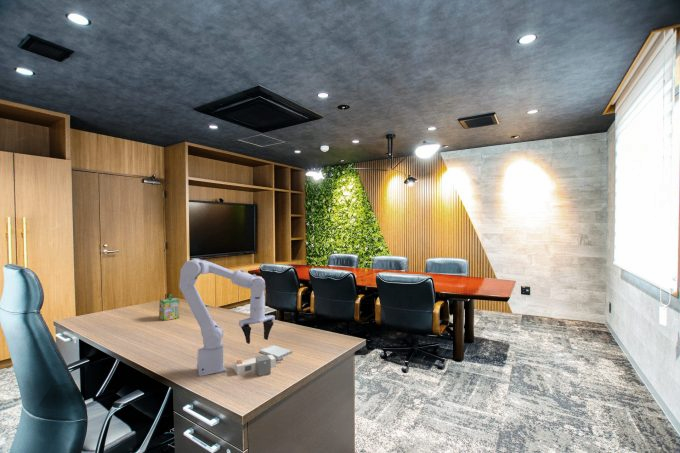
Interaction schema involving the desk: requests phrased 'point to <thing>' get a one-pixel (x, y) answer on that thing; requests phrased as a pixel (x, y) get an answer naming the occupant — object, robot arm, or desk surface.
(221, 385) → the desk surface
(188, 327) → the desk surface
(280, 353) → the hard drive
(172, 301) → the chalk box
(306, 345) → the desk surface
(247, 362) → the power strip
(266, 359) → the block
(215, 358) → the robot arm
